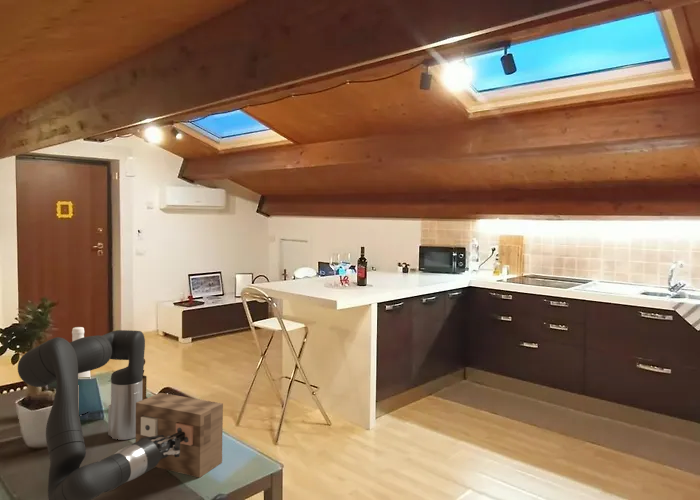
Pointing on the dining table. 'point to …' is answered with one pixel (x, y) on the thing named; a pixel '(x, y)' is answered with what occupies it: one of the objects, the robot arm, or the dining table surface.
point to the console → (186, 411)
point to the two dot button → (186, 432)
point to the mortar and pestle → (144, 385)
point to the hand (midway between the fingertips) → (182, 435)
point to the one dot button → (149, 426)
